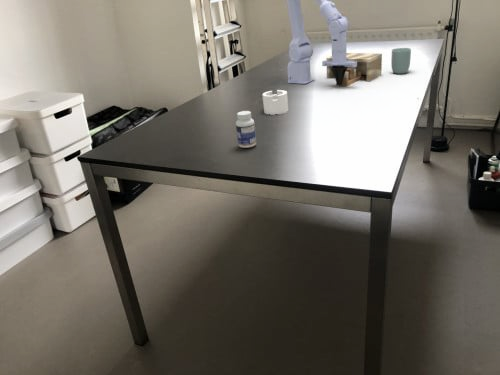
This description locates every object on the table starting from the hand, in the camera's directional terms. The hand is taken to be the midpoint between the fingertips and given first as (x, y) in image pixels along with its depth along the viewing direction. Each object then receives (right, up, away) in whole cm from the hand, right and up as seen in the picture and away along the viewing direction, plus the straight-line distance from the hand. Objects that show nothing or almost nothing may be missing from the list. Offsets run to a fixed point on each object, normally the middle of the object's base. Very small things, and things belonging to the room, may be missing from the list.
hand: (339, 84), depth 181 cm
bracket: (-27, -13, -16) cm, 34 cm away
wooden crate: (+9, +6, +13) cm, 17 cm away
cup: (+29, +7, +12) cm, 32 cm away
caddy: (+5, +2, +5) cm, 8 cm away
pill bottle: (-37, -30, -51) cm, 70 cm away
